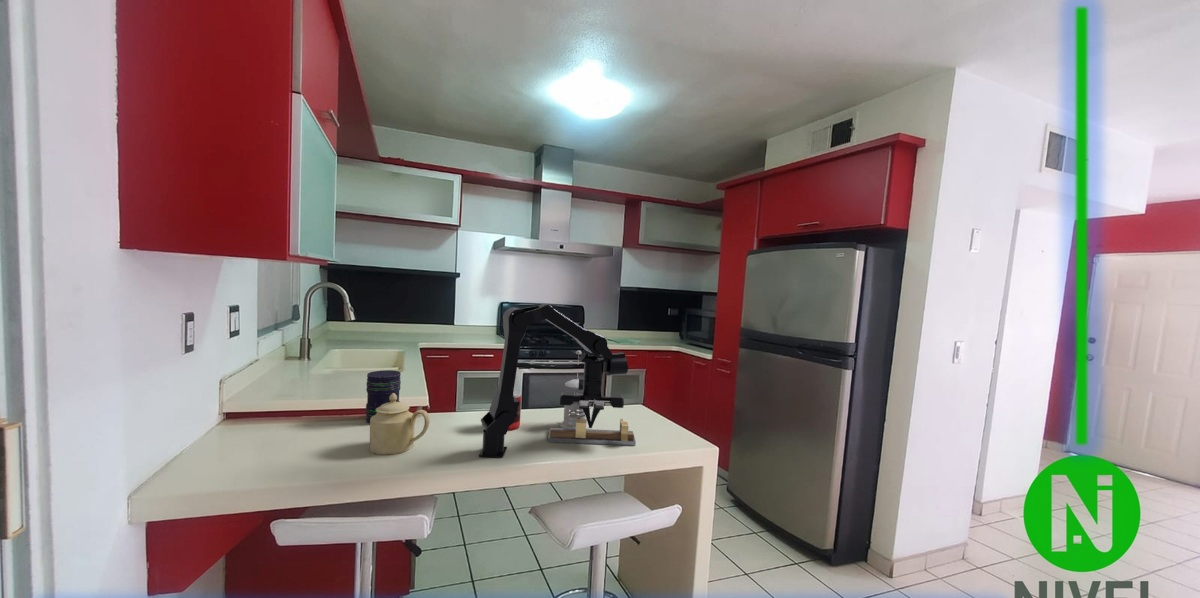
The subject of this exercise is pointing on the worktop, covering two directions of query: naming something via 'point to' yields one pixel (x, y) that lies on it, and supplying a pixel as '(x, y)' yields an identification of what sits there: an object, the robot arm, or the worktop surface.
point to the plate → (590, 440)
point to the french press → (573, 406)
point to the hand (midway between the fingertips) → (590, 427)
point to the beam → (598, 433)
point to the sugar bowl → (394, 428)
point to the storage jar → (381, 390)
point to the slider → (580, 428)
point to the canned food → (517, 419)
